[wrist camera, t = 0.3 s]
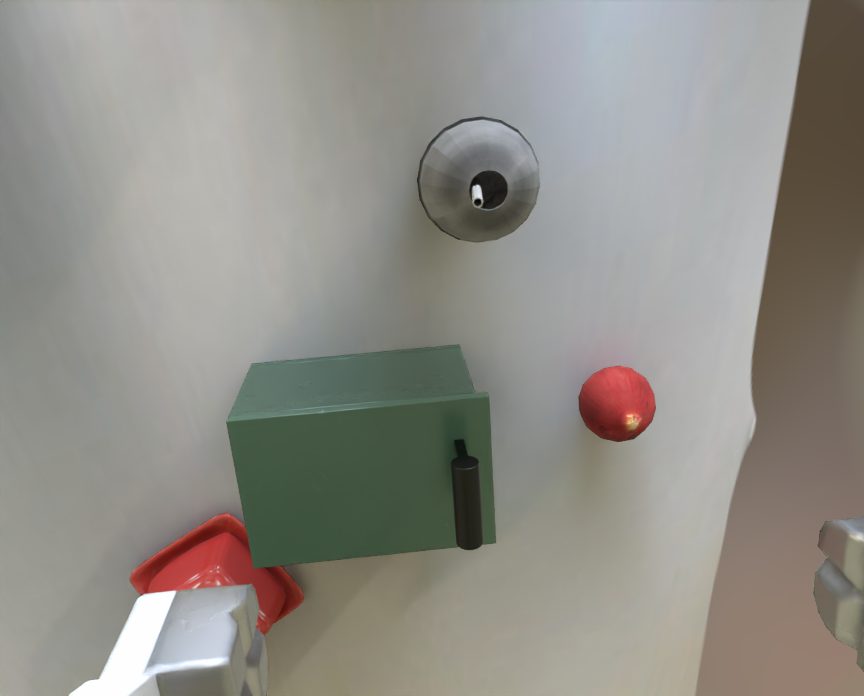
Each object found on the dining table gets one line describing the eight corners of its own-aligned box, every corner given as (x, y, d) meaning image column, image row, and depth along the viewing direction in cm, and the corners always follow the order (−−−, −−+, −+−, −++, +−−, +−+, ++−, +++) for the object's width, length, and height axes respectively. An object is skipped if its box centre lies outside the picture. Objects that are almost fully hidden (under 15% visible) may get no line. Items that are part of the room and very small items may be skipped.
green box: (459, 344, 59) (475, 392, 50) (467, 471, 63) (483, 537, 54) (251, 363, 58) (228, 415, 49) (272, 491, 62) (255, 561, 53)
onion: (638, 410, 62) (675, 455, 55) (572, 422, 62) (599, 469, 54) (634, 347, 60) (671, 384, 52) (565, 359, 60) (592, 399, 52)
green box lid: (487, 391, 50) (499, 424, 45) (494, 537, 54) (506, 582, 49) (228, 416, 49) (211, 453, 44) (254, 562, 53) (242, 610, 48)
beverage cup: (504, 212, 55) (570, 277, 37) (407, 211, 55) (425, 276, 36) (509, 111, 53) (584, 125, 34) (409, 108, 52) (428, 122, 34)
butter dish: (125, 567, 63) (89, 637, 55) (231, 499, 62) (210, 560, 54) (211, 652, 67) (189, 729, 59) (313, 589, 66) (305, 659, 58)
